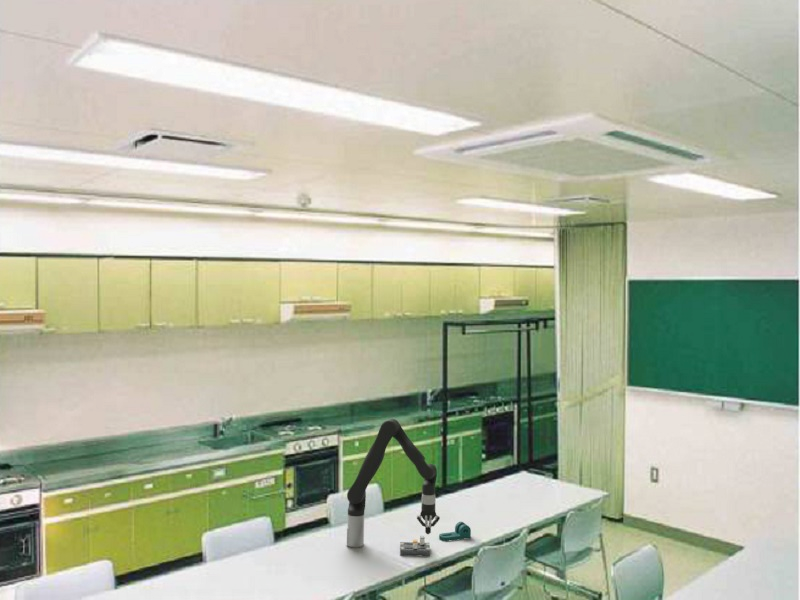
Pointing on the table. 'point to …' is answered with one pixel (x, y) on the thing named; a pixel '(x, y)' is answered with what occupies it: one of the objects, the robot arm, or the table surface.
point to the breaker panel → (407, 549)
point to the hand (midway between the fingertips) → (428, 533)
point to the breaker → (422, 540)
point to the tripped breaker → (415, 544)
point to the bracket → (457, 533)
